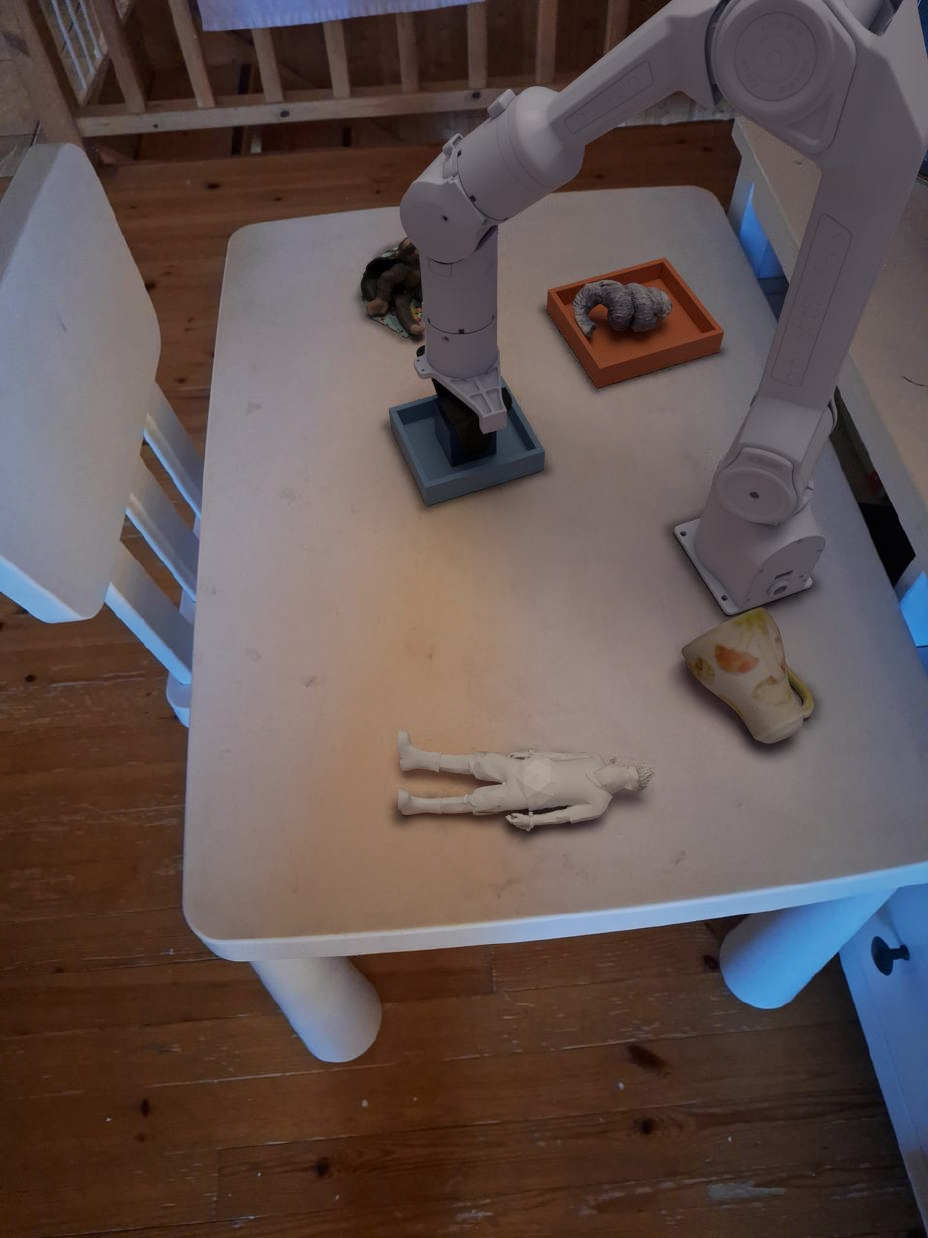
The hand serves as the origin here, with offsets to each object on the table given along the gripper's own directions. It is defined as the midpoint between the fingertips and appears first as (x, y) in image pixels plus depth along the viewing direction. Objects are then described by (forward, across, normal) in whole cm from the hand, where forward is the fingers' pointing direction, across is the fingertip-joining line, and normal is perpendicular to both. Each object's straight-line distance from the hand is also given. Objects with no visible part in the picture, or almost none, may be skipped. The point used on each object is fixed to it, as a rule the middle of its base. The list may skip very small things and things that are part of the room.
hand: (465, 432), depth 81 cm
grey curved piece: (+2, -9, +20) cm, 22 cm away
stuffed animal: (+2, -22, +3) cm, 23 cm away
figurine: (+2, +32, -8) cm, 33 cm away
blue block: (+1, 0, 0) cm, 1 cm away
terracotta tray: (+2, -8, +21) cm, 23 cm away
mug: (+2, +32, +11) cm, 33 cm away
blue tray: (+2, 0, 0) cm, 2 cm away
